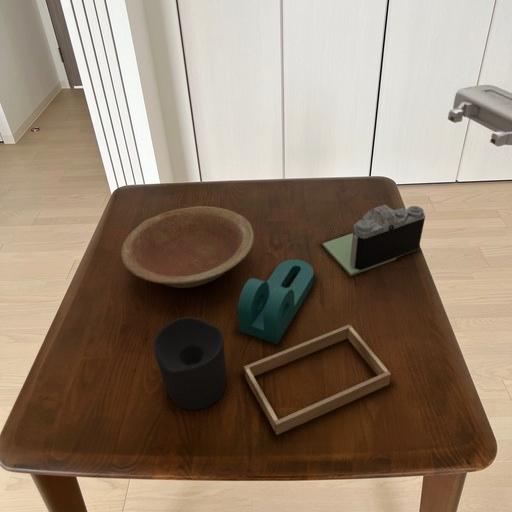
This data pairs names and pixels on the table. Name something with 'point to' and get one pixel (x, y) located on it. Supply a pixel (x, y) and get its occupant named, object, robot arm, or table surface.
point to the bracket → (274, 300)
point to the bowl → (187, 246)
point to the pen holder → (191, 362)
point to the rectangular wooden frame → (326, 404)
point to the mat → (345, 253)
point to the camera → (386, 235)
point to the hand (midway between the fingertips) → (472, 127)
